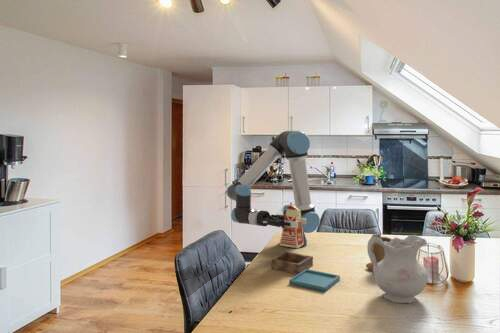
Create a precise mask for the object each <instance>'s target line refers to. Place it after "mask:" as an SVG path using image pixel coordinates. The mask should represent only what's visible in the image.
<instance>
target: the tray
mask: <svg viewBox="0 0 500 333" xmlns="http://www.w3.org/2000/svg"><path fill="white" fill-rule="evenodd" d="M340 280H341V276H340V275H339V274H334V273H330V272H329V273H328V272H323V271H320V270H319V271H318V270H312V269H310V268H309V269H305V270H304V271H302V272H300V273H299V274H295V275H294V276H293V277H291V278H290V279H289V280H288V283H289V285H291V286H295V287H298V288H299V287H300V288H304V289H309V290H314V291H318V292H322V293H326V292H327V291H329V289H331V288H332V287H333V286H335V285H336V284H337V283H339V282H340Z"/></svg>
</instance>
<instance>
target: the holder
mask: <svg viewBox="0 0 500 333" xmlns="http://www.w3.org/2000/svg"><path fill="white" fill-rule="evenodd" d="M270 262H271V264H270V266H271V268H270V269H271V270H274V271H280V272H285V273H291V274H294V275H297V274H299V273H300V272H302V271H304V270H305V269H309V270H310V268H312V267H313V266H314V256H311V255H307V254H306V255H305V254H300V253H294V252H288V251H285V252H283V253H281V254H279V255H277V256H275V257H273V258H271V260H270Z"/></svg>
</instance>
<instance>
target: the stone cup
mask: <svg viewBox="0 0 500 333" xmlns="http://www.w3.org/2000/svg"><path fill="white" fill-rule="evenodd" d="M381 238H382V241H383V242H384V241H386V242H390V241H391V240H392V239H393V238H391V237H388V236H381ZM373 253H374V255H375V258H376V262H377V263H379V262H380V261H382V260H383V259H384V257H385V250H384V248H383V247H382V246H381V245H380V244H379V243H375V244H374V245H373ZM365 268H367V269H369V270H371V271H373V264H372V262H371V261H370V262H368V263H367V264H365Z"/></svg>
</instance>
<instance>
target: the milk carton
mask: <svg viewBox="0 0 500 333" xmlns="http://www.w3.org/2000/svg"><path fill="white" fill-rule="evenodd" d="M290 204H291V206H289V207H288V208H287V210H286V215H285V219H284V221H285V220H287V221H295V222H298V228H293V227H285V226H284V228H282V233H281V237H280V239H281V241H279V246H282V247H284V246H288V247H287V248H290V247H294V249H299V247H300V248H302V247H301V246H302V245H303V244H304V242H303V228H302V219H301V211H300V210H299V209H298V208H297V207H296V205H294V204H295V203H293V202H290Z"/></svg>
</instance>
